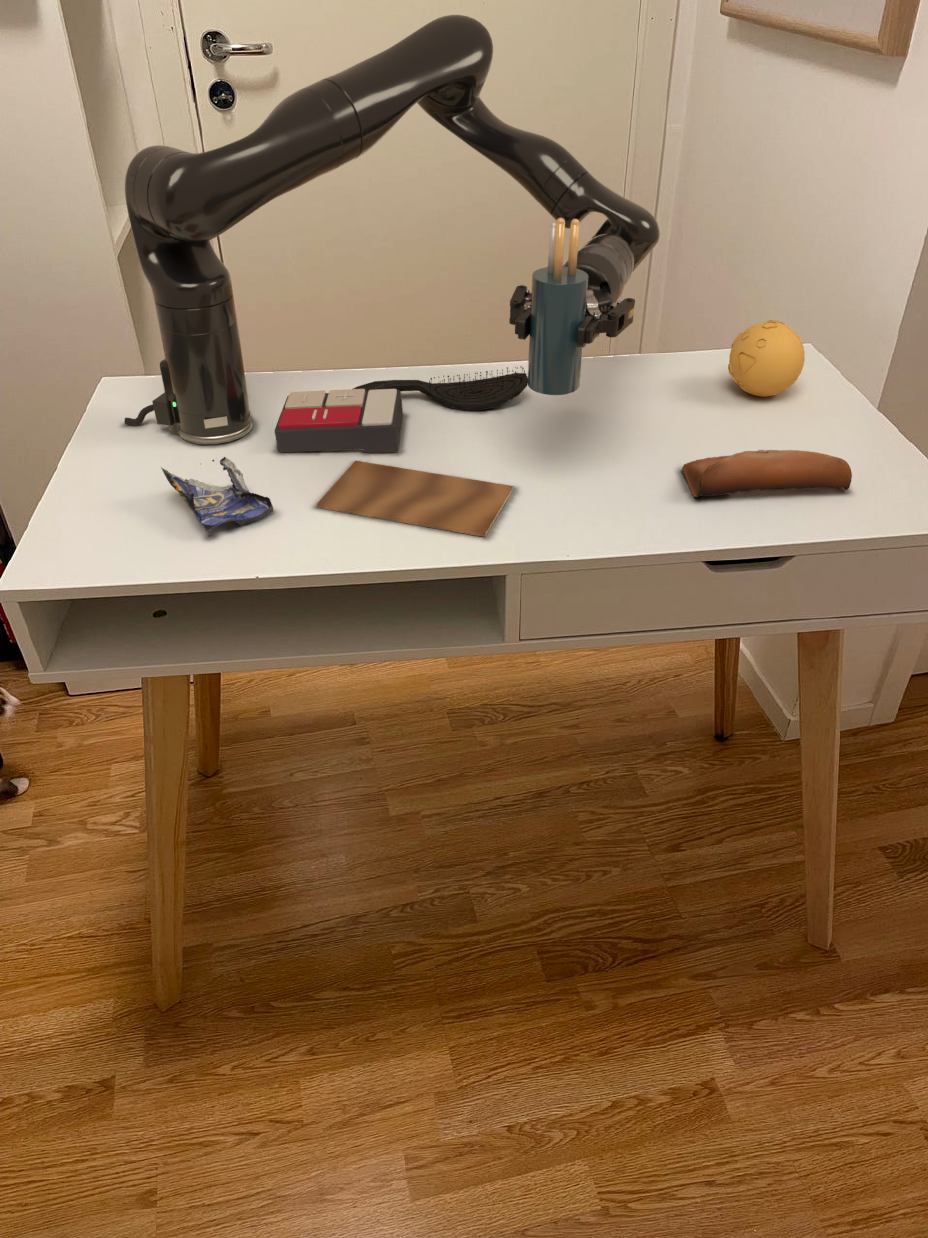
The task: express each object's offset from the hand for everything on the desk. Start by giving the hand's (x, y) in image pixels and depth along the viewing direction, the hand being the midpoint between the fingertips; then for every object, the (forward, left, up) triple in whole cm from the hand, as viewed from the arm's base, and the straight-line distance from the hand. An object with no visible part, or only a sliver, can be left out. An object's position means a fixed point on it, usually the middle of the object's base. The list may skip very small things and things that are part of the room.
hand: (550, 334), depth 101 cm
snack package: (-33, -16, -19) cm, 41 cm away
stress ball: (+22, +36, -19) cm, 46 cm away
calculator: (-28, +6, -19) cm, 35 cm away
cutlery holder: (0, +3, -7) cm, 7 cm away
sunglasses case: (+24, +10, -19) cm, 32 cm away
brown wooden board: (-13, -6, -19) cm, 24 cm away
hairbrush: (-20, +20, -19) cm, 34 cm away
